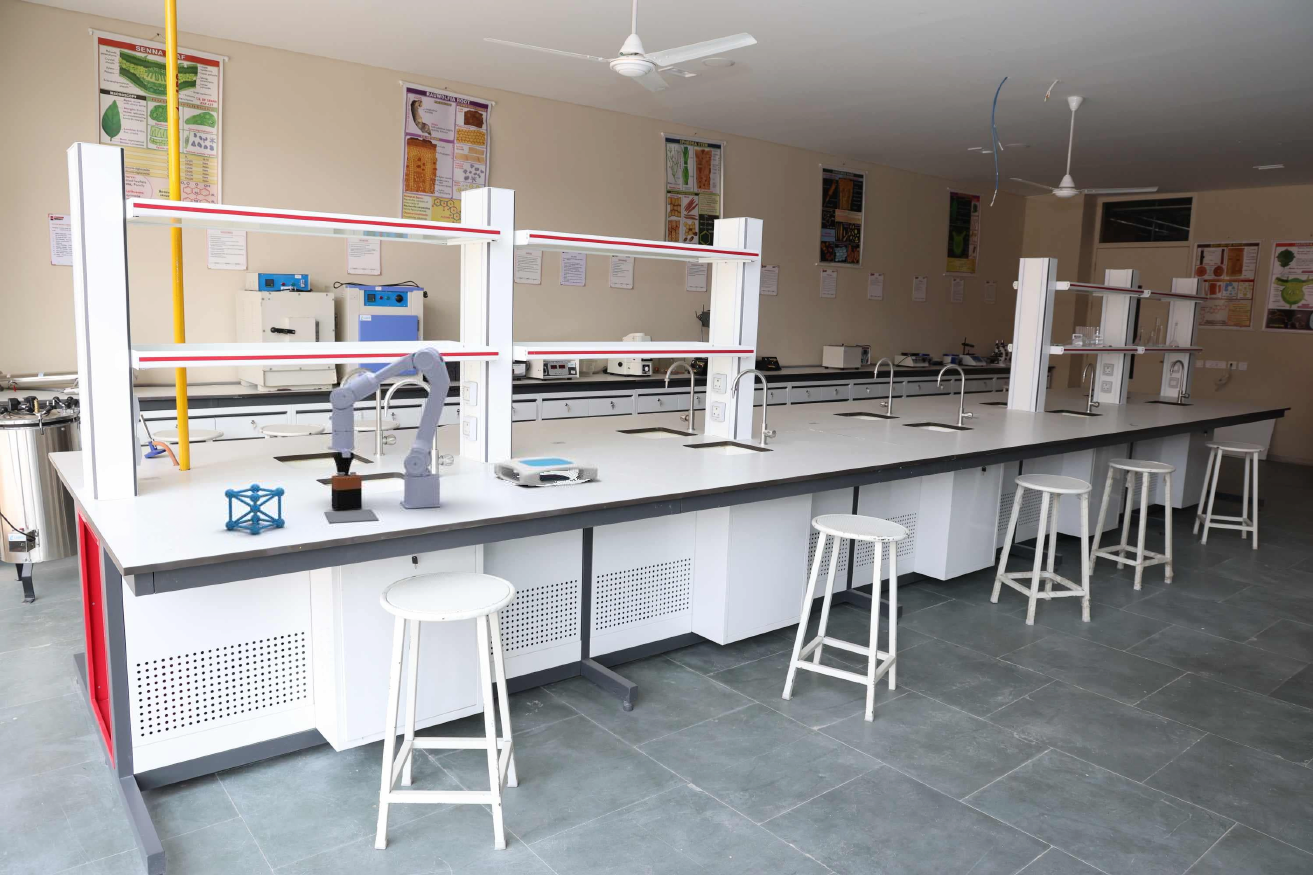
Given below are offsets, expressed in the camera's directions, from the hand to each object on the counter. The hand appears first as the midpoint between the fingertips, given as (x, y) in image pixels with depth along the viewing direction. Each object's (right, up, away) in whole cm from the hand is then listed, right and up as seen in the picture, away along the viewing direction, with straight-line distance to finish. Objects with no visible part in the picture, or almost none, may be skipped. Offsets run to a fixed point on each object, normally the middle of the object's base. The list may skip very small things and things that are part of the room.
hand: (343, 479), depth 243 cm
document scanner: (+50, -3, +50) cm, 71 cm away
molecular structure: (-11, -11, -30) cm, 33 cm away
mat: (+7, -9, -14) cm, 18 cm away
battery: (+3, -8, -6) cm, 11 cm away
